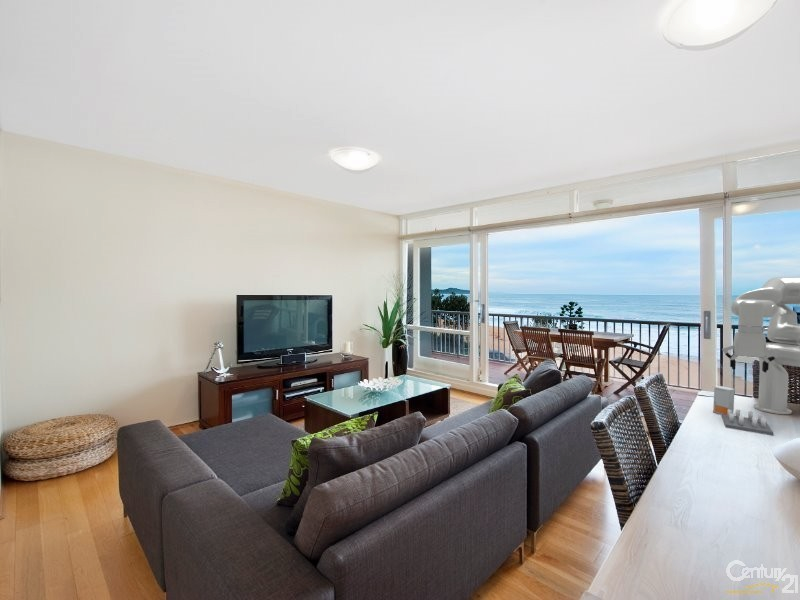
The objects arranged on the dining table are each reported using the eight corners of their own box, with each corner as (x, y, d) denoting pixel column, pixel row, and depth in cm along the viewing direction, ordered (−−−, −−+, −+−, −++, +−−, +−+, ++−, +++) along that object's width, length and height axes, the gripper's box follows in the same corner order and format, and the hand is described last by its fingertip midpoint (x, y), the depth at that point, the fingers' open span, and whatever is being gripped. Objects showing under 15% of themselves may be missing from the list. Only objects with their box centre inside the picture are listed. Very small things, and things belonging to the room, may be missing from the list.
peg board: (721, 416, 166) (721, 405, 166) (765, 423, 158) (765, 412, 158) (725, 427, 153) (726, 415, 153) (773, 435, 145) (773, 423, 145)
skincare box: (712, 412, 171) (713, 386, 171) (717, 411, 173) (718, 385, 173) (728, 416, 166) (730, 389, 165) (733, 415, 168) (735, 388, 167)
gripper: (776, 330, 155) (774, 371, 156) (721, 327, 165) (720, 366, 165) (781, 332, 149) (779, 374, 150) (724, 329, 158) (723, 369, 159)
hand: (748, 370), depth 157 cm, fingers open, 9 cm apart
